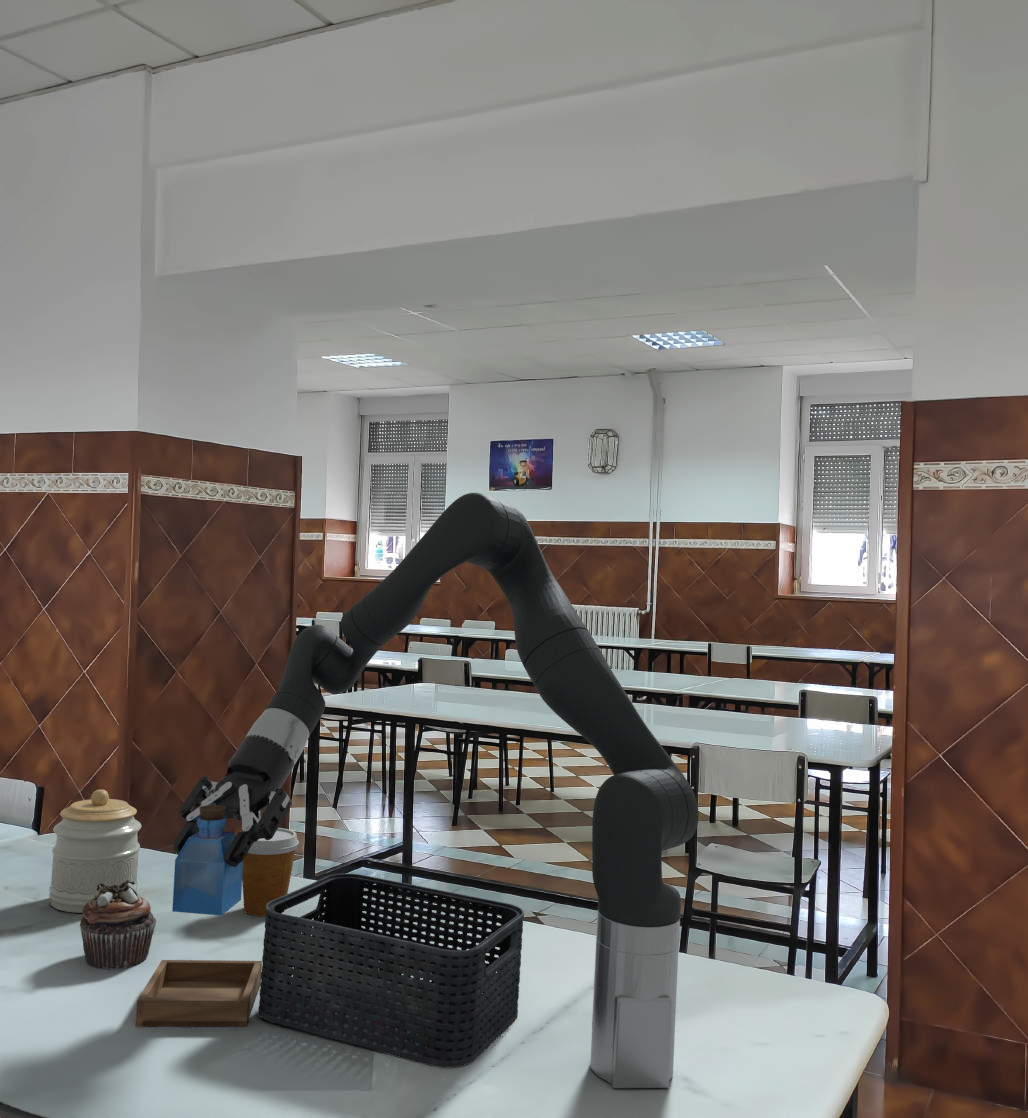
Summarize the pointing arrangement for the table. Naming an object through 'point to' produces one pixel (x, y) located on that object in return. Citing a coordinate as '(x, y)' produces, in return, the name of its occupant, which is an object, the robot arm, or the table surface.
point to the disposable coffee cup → (268, 870)
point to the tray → (200, 994)
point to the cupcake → (117, 927)
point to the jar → (93, 850)
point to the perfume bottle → (207, 868)
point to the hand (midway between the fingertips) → (203, 858)
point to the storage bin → (393, 968)
